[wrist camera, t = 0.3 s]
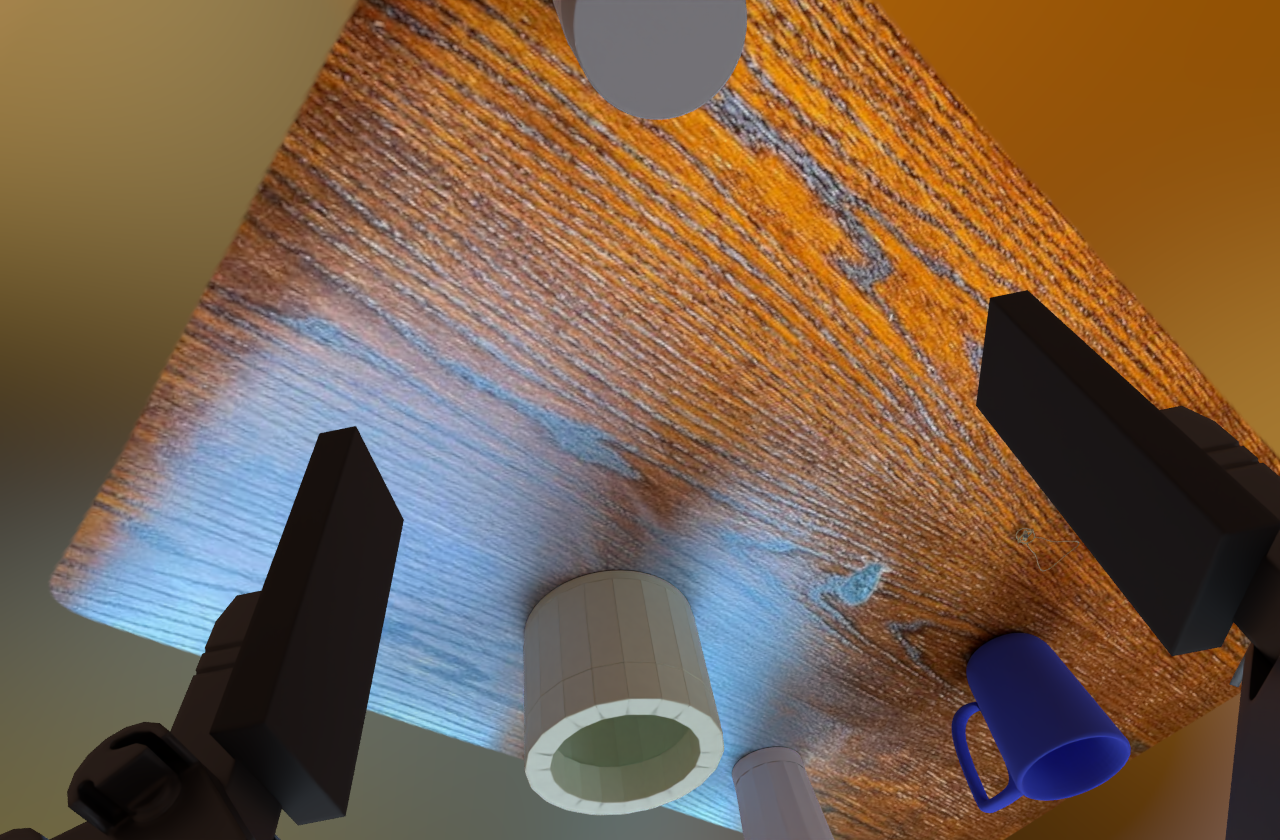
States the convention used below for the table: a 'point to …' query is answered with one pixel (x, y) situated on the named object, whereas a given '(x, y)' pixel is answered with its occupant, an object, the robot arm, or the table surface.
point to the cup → (777, 797)
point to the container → (655, 50)
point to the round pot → (616, 696)
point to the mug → (1036, 724)
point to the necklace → (1025, 536)
